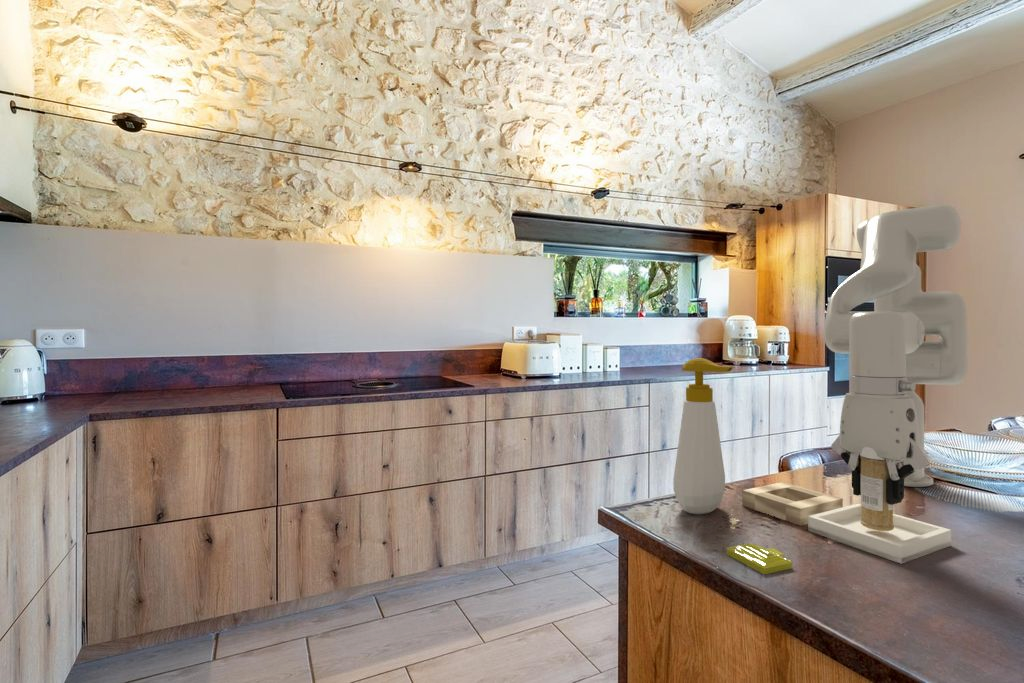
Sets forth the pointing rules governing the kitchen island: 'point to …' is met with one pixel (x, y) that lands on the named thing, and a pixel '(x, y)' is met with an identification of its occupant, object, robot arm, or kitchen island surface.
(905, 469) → the robot arm
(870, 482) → the sprinkles bottle
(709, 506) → the soap bottle
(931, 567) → the kitchen island surface
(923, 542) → the tray
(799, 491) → the socket holder
